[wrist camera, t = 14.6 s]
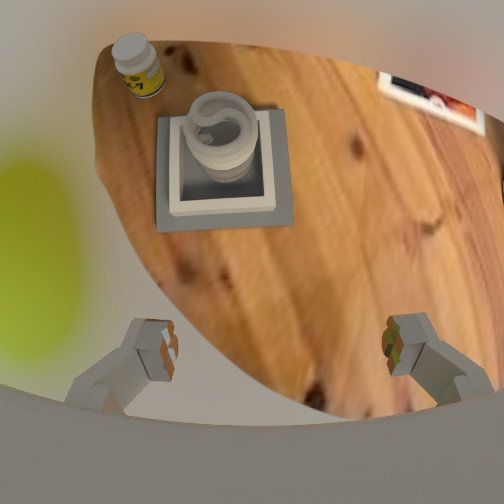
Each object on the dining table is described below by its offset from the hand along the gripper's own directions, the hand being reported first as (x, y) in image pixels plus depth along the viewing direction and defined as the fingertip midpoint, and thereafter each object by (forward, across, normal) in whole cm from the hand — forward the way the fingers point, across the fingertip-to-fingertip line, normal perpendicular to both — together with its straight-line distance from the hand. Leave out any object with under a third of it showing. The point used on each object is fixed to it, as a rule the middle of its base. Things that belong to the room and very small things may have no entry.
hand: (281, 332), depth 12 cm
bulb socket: (+25, +5, +2) cm, 26 cm away
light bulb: (+24, +4, +1) cm, 25 cm away
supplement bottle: (+32, +15, -9) cm, 36 cm away
